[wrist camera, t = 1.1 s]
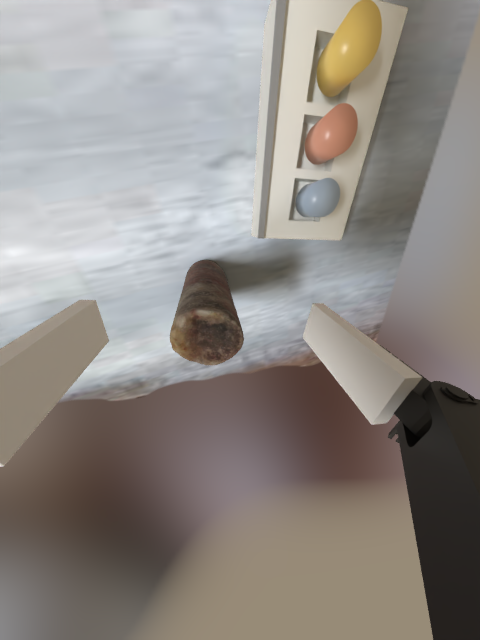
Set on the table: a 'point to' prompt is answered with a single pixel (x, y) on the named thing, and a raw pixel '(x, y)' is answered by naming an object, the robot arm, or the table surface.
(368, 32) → the button mustard
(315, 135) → the button terracotta
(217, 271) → the brown rounded bar
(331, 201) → the button slate
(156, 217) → the table surface
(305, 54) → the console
